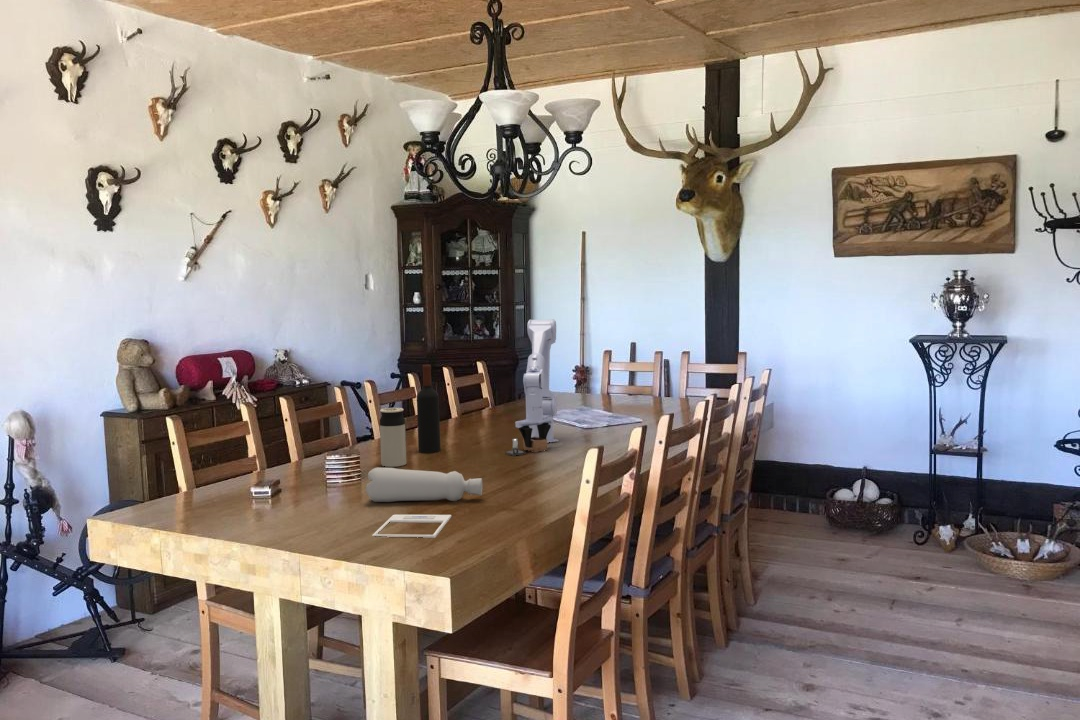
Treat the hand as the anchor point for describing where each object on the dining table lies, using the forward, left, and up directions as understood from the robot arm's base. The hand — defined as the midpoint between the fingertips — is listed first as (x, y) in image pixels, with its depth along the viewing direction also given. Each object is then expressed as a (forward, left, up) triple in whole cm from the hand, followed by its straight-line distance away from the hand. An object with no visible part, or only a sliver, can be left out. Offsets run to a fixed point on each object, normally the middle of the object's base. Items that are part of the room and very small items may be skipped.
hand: (535, 446), depth 300 cm
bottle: (+38, -63, -2) cm, 73 cm away
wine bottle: (-24, -28, -2) cm, 37 cm away
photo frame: (+58, -77, -2) cm, 97 cm away
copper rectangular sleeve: (0, 0, -1) cm, 1 cm away
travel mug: (-11, -48, -2) cm, 49 cm away
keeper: (+1, -9, -1) cm, 9 cm away
